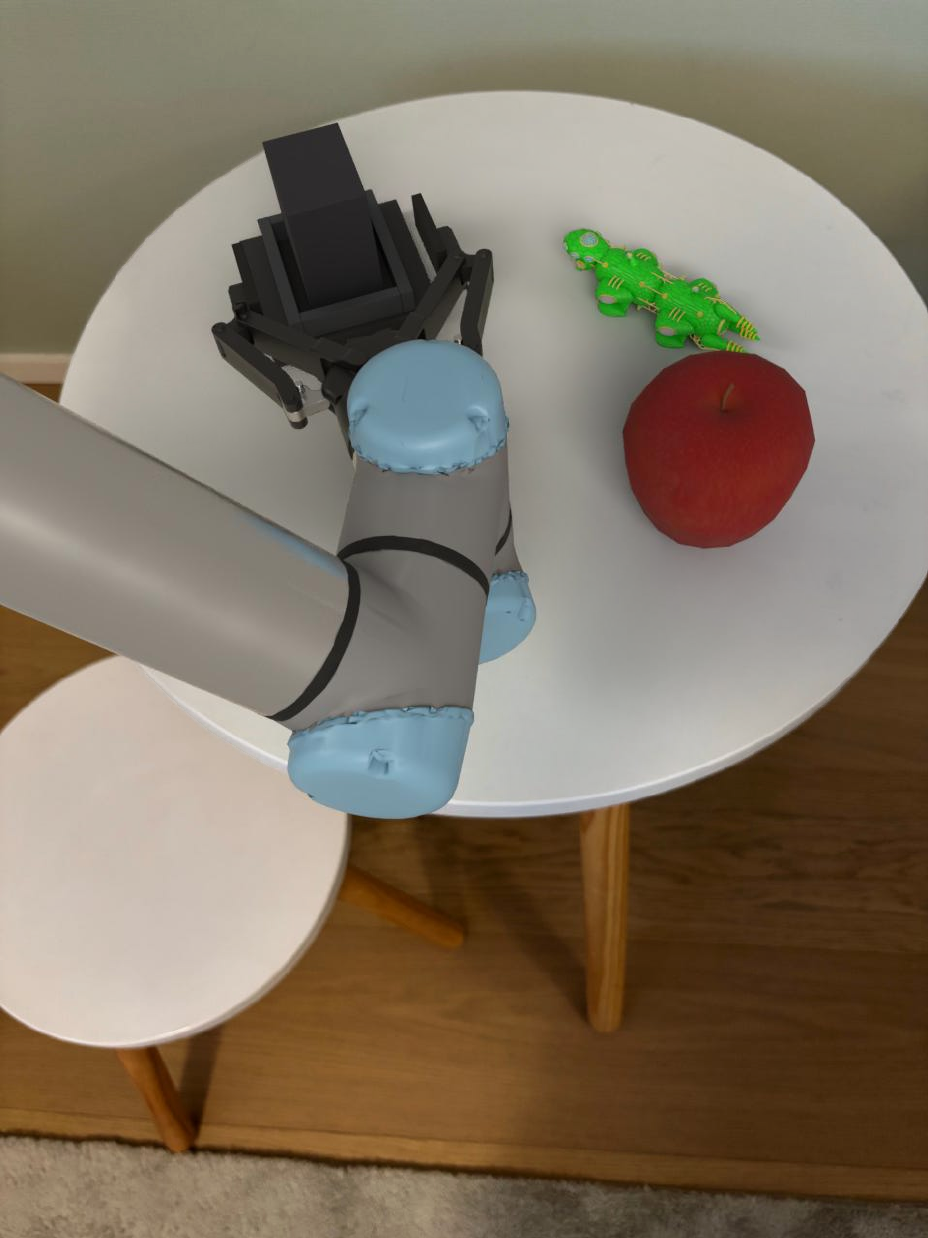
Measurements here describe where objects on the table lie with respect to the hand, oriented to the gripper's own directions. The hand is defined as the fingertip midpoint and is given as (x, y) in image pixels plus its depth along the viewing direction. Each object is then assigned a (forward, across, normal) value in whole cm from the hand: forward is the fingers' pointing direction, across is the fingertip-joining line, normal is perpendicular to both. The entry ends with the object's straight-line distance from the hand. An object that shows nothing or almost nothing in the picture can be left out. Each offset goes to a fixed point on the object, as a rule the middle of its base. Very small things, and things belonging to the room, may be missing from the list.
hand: (330, 232), depth 77 cm
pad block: (+4, 0, -8) cm, 9 cm away
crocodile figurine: (-8, +23, -9) cm, 26 cm away
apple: (-27, +19, -9) cm, 34 cm away
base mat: (+4, 0, -9) cm, 10 cm away
